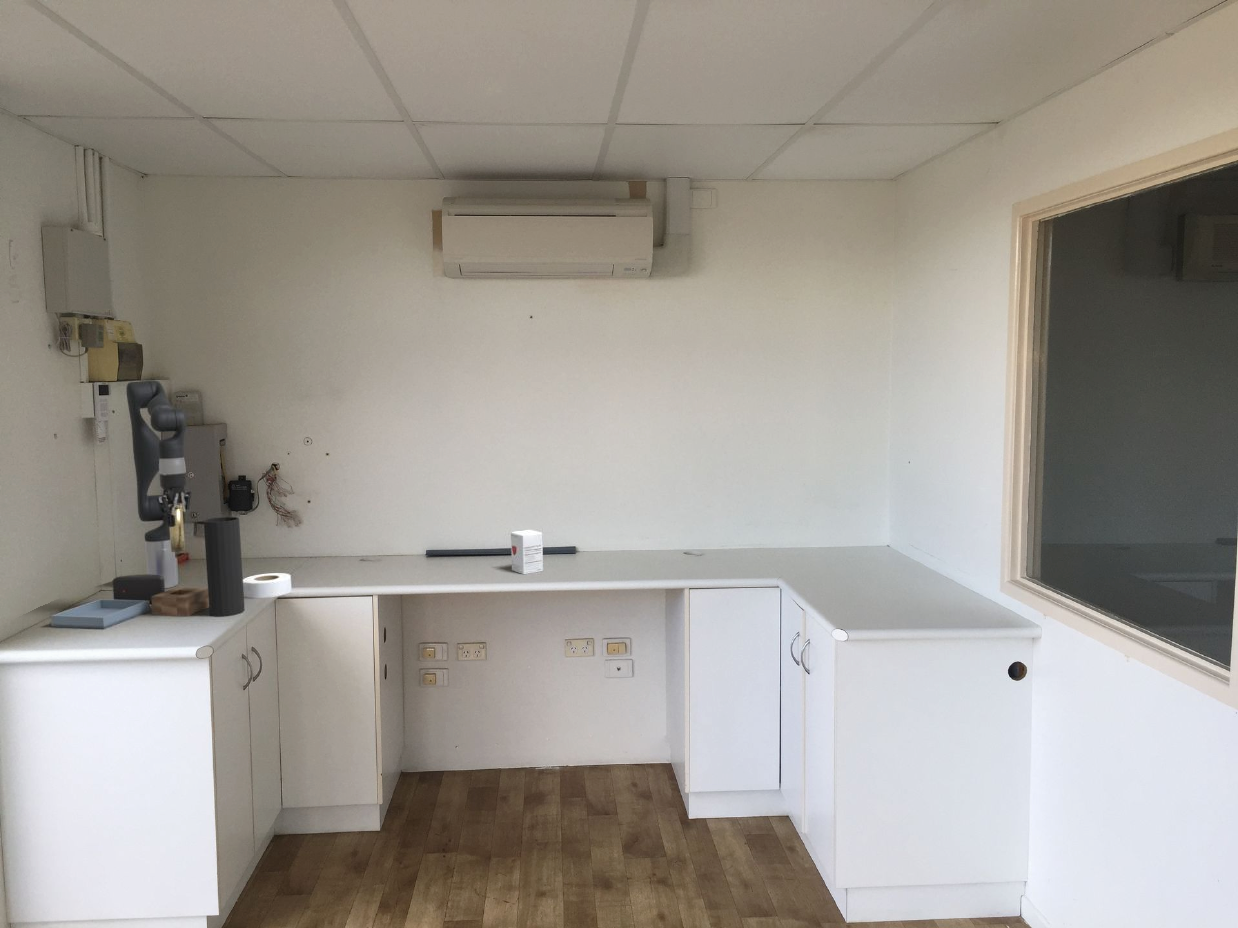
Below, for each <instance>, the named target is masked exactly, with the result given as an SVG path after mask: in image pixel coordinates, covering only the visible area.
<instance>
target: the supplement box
mask: <svg viewBox="0 0 1238 928" xmlns="http://www.w3.org/2000/svg"><path fill="white" fill-rule="evenodd" d="M510 547H511V548H510V550H511V571H512V572H516V573H519V574H522V575H527V574H534V573H540V572H543V571H544V558H543V557H544V556H543V555H544V554H543V548H544V547H543V532H540V531H538V530H533V529H526V530H519V531H518V530H516V531H511V532H510Z"/></svg>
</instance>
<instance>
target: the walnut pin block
mask: <svg viewBox="0 0 1238 928" xmlns="http://www.w3.org/2000/svg"><path fill="white" fill-rule="evenodd" d="M151 598H152V604H151V610H152V615H153V616H164V617H165V616H169V617H171V616H172V617H188V616H189V617H190V616H191V615H194V614H195V613H197V612H200V610H201V611H203V610H205V609H207V608H209V596H208V587H206V588H205V587H176V586H175V587H173V588H171V589H168V590H165V592H163V593H160V594H157V595H154V596H152V597H151Z"/></svg>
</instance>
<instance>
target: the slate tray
mask: <svg viewBox="0 0 1238 928" xmlns="http://www.w3.org/2000/svg"><path fill="white" fill-rule="evenodd" d="M150 605H151V604H150V602H149V601H144V600H115V599H114V598H112V599H111V598H110V599H107V598H99V599H96V600H94V601H93V600H92V601H91V602H88V603H84V604H81V605H79V606H76V607H72V608H70V609H67V610H66V609H65V610H64V611H60V612H57V613H55V614H51V615H50V623H51V628H64V627H65V628H66V629H68V628H69V629H89V630H90V629H95V630H105V629H107V628H110V627H111V628H112V627H113V626H115V625H118V624H121V623H124V622H126V621H129V620H131V619H134V618H136V617H139V616H141V615H145V614H147V613H150V612H151V606H150ZM65 628H64V629H65Z"/></svg>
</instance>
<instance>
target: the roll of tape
mask: <svg viewBox="0 0 1238 928" xmlns="http://www.w3.org/2000/svg"><path fill="white" fill-rule="evenodd" d="M291 576H292V575H291V574H290V573H284V572H280V573H279V572H275V573H274V572H271V573H262V574H255V575H251V576H248V577H245V578H243V591H244V598H247V599H268V598H270V599H271V598H276V597H281V596H285V595H288V594H290V593H291V592H292V577H291Z"/></svg>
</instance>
